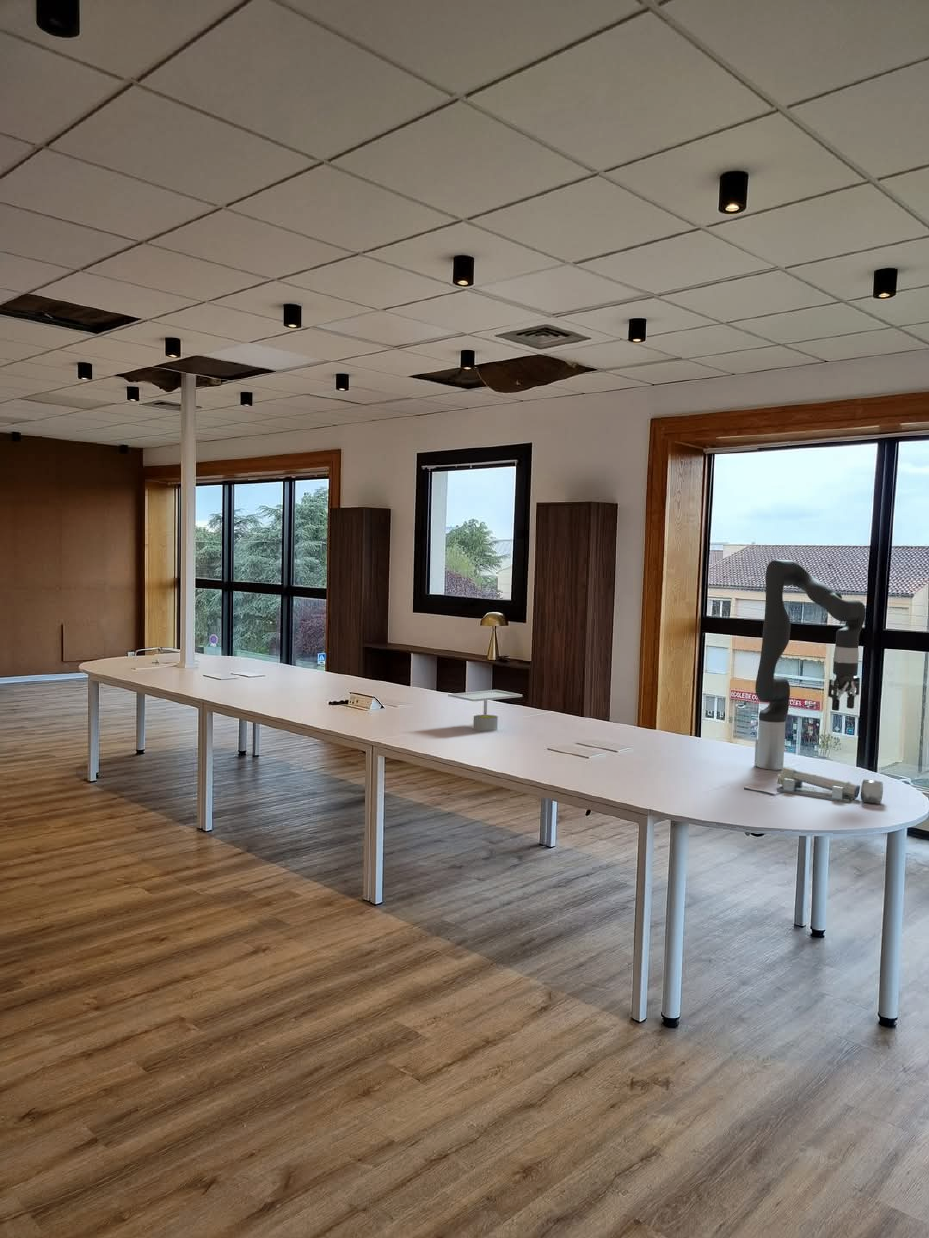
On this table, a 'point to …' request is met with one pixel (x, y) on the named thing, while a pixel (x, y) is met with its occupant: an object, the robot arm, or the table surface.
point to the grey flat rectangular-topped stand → (485, 707)
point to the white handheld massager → (817, 781)
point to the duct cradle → (835, 791)
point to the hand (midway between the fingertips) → (842, 709)
